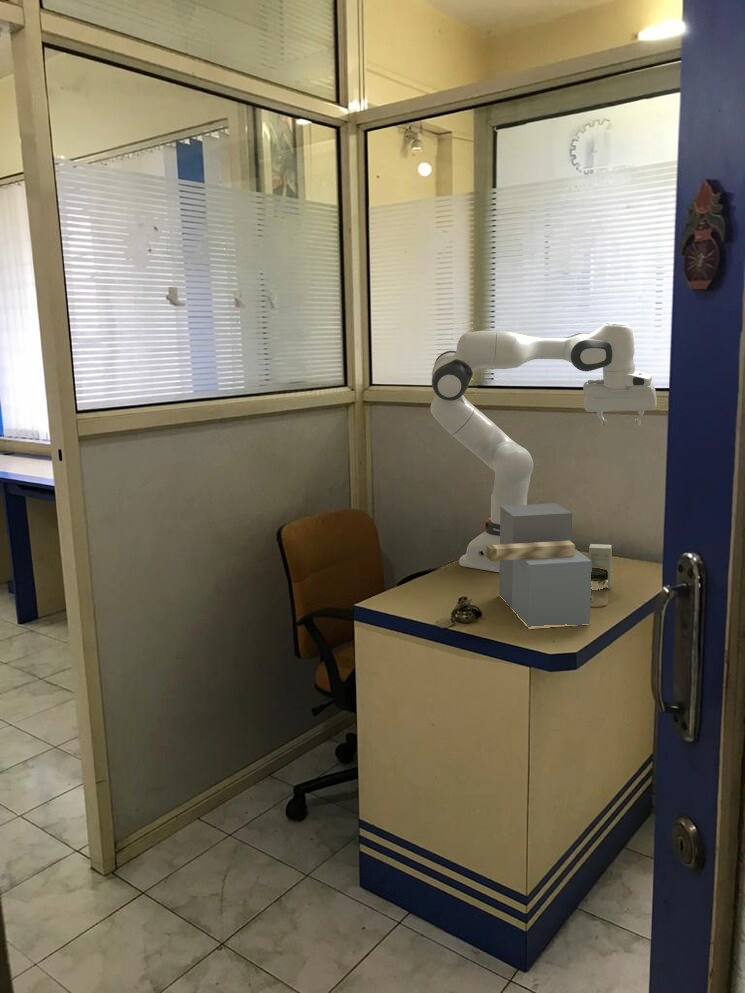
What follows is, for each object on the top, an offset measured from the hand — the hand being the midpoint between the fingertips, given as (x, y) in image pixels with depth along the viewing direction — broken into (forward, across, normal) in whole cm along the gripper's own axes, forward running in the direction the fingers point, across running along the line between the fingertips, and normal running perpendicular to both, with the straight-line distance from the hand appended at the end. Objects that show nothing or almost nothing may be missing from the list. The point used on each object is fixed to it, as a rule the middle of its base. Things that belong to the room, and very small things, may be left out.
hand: (620, 425), depth 240 cm
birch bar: (+22, -14, -51) cm, 57 cm away
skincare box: (+43, -4, -20) cm, 48 cm away
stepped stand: (+39, -14, -45) cm, 62 cm away
